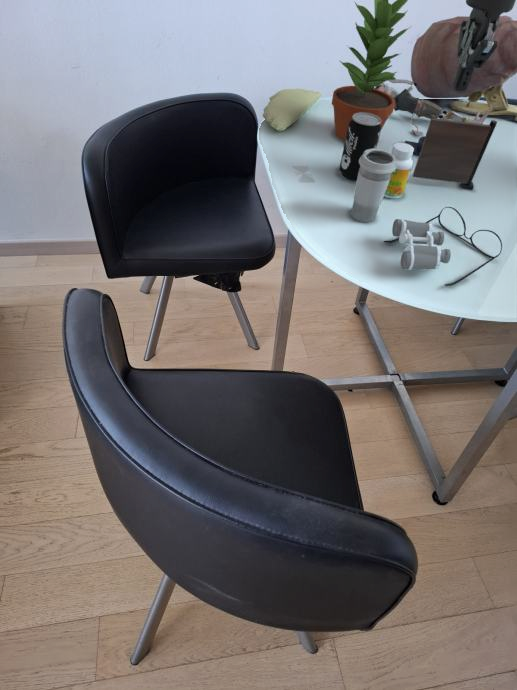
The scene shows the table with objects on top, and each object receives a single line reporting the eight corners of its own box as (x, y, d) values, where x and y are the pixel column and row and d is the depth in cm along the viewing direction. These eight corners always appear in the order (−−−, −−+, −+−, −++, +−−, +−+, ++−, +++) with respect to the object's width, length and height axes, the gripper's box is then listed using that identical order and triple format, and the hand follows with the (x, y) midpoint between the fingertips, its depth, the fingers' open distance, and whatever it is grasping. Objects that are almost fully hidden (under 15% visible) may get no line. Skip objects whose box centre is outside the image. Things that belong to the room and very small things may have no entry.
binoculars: (391, 229, 88) (396, 212, 86) (434, 232, 89) (441, 215, 86) (402, 273, 81) (408, 256, 78) (450, 276, 81) (458, 259, 78)
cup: (348, 202, 97) (363, 144, 88) (381, 210, 96) (399, 151, 88) (343, 221, 92) (358, 161, 84) (378, 229, 92) (396, 169, 83)
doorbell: (453, 150, 118) (457, 140, 116) (455, 162, 114) (459, 152, 112) (404, 142, 119) (407, 132, 117) (404, 154, 115) (407, 143, 113)
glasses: (443, 200, 91) (436, 222, 95) (384, 233, 86) (380, 254, 90) (508, 239, 83) (498, 261, 87) (448, 277, 78) (440, 299, 82)
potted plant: (356, 155, 112) (393, -2, 90) (314, 129, 120) (338, -21, 98) (400, 142, 119) (444, -7, 97) (357, 118, 126) (389, -24, 105)
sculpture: (550, -4, 114) (503, 29, 142) (428, 0, 116) (406, 32, 144) (534, 89, 120) (492, 103, 148) (419, 90, 123) (399, 104, 151)
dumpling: (320, 103, 132) (287, 91, 134) (324, 86, 129) (290, 74, 131) (280, 139, 116) (243, 126, 118) (284, 121, 112) (245, 107, 114)
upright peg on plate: (471, 185, 107) (499, 120, 97) (472, 190, 105) (501, 124, 95) (460, 183, 107) (487, 118, 97) (461, 188, 105) (488, 122, 95)
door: (467, 183, 104) (491, 127, 95) (413, 177, 104) (432, 119, 95) (466, 181, 105) (490, 124, 96) (412, 174, 105) (431, 117, 96)
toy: (495, 82, 122) (375, 66, 124) (489, 140, 119) (367, 123, 121) (480, 105, 131) (369, 90, 133) (474, 160, 128) (360, 144, 130)
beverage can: (364, 185, 103) (379, 128, 94) (335, 177, 104) (346, 120, 95) (371, 172, 107) (386, 116, 98) (342, 164, 108) (354, 108, 100)
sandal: (529, 134, 128) (544, 101, 122) (446, 107, 137) (457, 75, 131) (542, 122, 136) (557, 91, 130) (463, 97, 145) (474, 67, 139)
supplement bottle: (375, 195, 100) (388, 149, 93) (378, 183, 104) (391, 138, 97) (401, 201, 99) (416, 155, 92) (403, 189, 103) (418, 144, 96)
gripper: (465, -39, 81) (430, 74, 93) (490, -22, 72) (448, 101, 84) (508, -35, 81) (468, 78, 94) (540, -17, 72) (490, 105, 85)
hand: (459, 89), depth 89 cm, fingers closed
